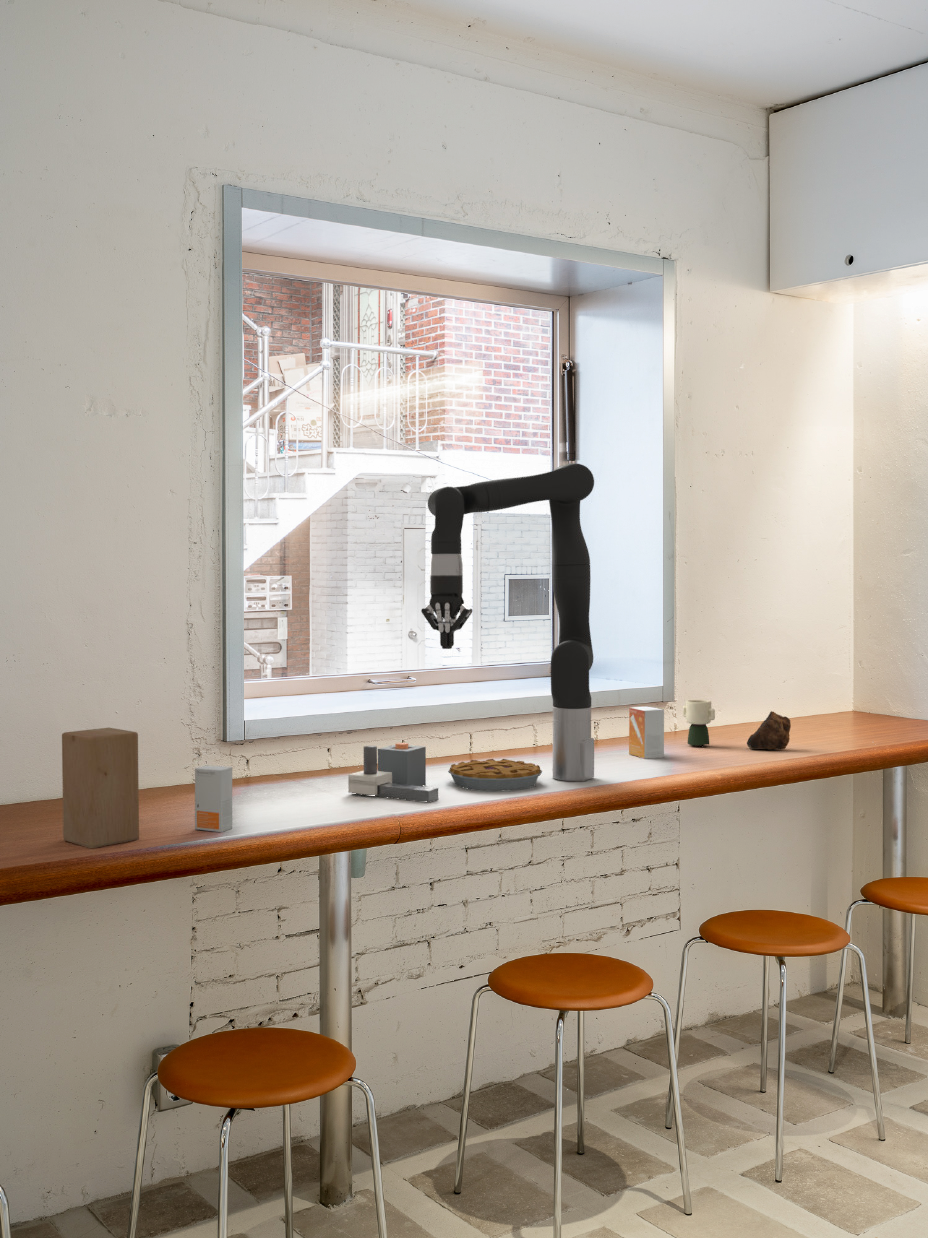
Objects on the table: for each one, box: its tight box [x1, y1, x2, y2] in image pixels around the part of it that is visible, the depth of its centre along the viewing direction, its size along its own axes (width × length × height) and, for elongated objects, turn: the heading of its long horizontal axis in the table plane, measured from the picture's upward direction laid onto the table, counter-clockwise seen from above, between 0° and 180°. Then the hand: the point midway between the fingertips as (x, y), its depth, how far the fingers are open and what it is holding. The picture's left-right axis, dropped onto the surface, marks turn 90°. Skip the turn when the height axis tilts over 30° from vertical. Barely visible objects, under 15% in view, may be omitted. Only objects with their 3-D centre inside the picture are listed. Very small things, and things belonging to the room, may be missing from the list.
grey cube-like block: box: [377, 744, 427, 786], centre depth 261 cm, size 8×8×9 cm
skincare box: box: [194, 764, 233, 833], centre depth 217 cm, size 6×4×12 cm
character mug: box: [682, 699, 716, 747], centre depth 323 cm, size 11×7×13 cm, turn 42°
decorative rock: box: [746, 711, 792, 750], centre depth 317 cm, size 12×6×11 cm, turn 83°
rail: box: [355, 783, 439, 803], centre depth 249 cm, size 20×4×2 cm, turn 61°
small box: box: [628, 705, 665, 760], centre depth 306 cm, size 8×6×13 cm
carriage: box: [347, 745, 392, 795], centre depth 252 cm, size 7×7×10 cm
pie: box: [447, 758, 543, 792], centre depth 265 cm, size 22×22×5 cm
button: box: [394, 742, 409, 750], centre depth 261 cm, size 3×3×4 cm
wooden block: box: [61, 727, 140, 849], centre depth 208 cm, size 10×10×20 cm
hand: (446, 648), depth 262 cm, fingers closed
